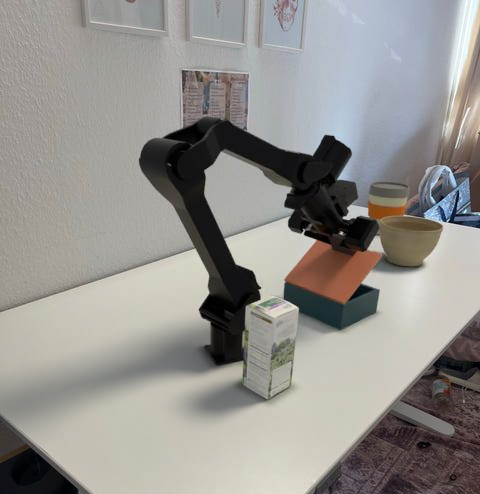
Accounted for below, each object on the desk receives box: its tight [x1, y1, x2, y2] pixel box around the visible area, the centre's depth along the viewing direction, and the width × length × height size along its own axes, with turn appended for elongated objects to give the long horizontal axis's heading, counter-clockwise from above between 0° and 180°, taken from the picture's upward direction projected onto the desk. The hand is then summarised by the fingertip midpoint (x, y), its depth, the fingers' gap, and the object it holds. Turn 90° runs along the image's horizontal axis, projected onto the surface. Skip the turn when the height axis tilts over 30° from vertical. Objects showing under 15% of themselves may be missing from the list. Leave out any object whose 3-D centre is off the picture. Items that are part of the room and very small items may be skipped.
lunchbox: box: [282, 281, 381, 331], centre depth 102 cm, size 13×16×5 cm
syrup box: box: [241, 295, 300, 400], centre depth 74 cm, size 6×6×14 cm
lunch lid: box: [283, 233, 383, 305], centre depth 97 cm, size 13×16×5 cm
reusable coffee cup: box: [367, 181, 411, 236], centre depth 155 cm, size 13×12×15 cm
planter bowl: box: [379, 215, 445, 267], centre depth 130 cm, size 16×16×11 cm
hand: (346, 247), depth 100 cm, fingers closed on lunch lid, 5 cm apart
